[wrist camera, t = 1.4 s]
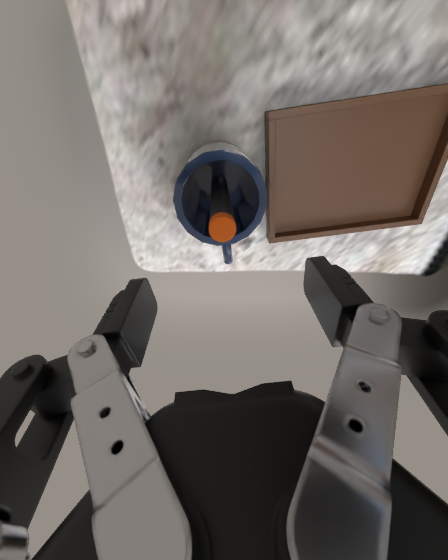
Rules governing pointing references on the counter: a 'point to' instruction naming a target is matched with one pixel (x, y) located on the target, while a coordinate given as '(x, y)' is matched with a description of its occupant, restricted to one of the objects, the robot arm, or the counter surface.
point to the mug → (241, 185)
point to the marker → (221, 211)
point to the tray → (354, 163)
